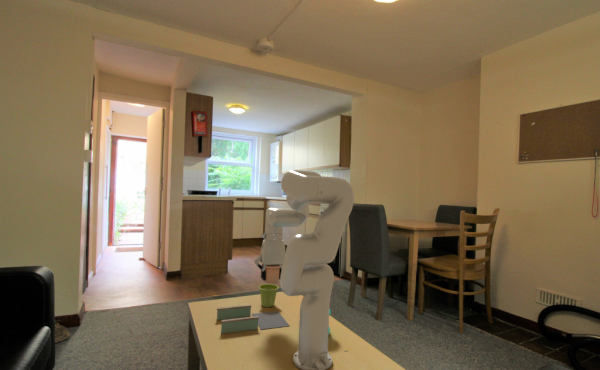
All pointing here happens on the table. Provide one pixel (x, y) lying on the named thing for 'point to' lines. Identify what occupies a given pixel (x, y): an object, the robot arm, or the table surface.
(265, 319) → the mat
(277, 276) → the seedling pot
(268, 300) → the plant pot
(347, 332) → the table surface
